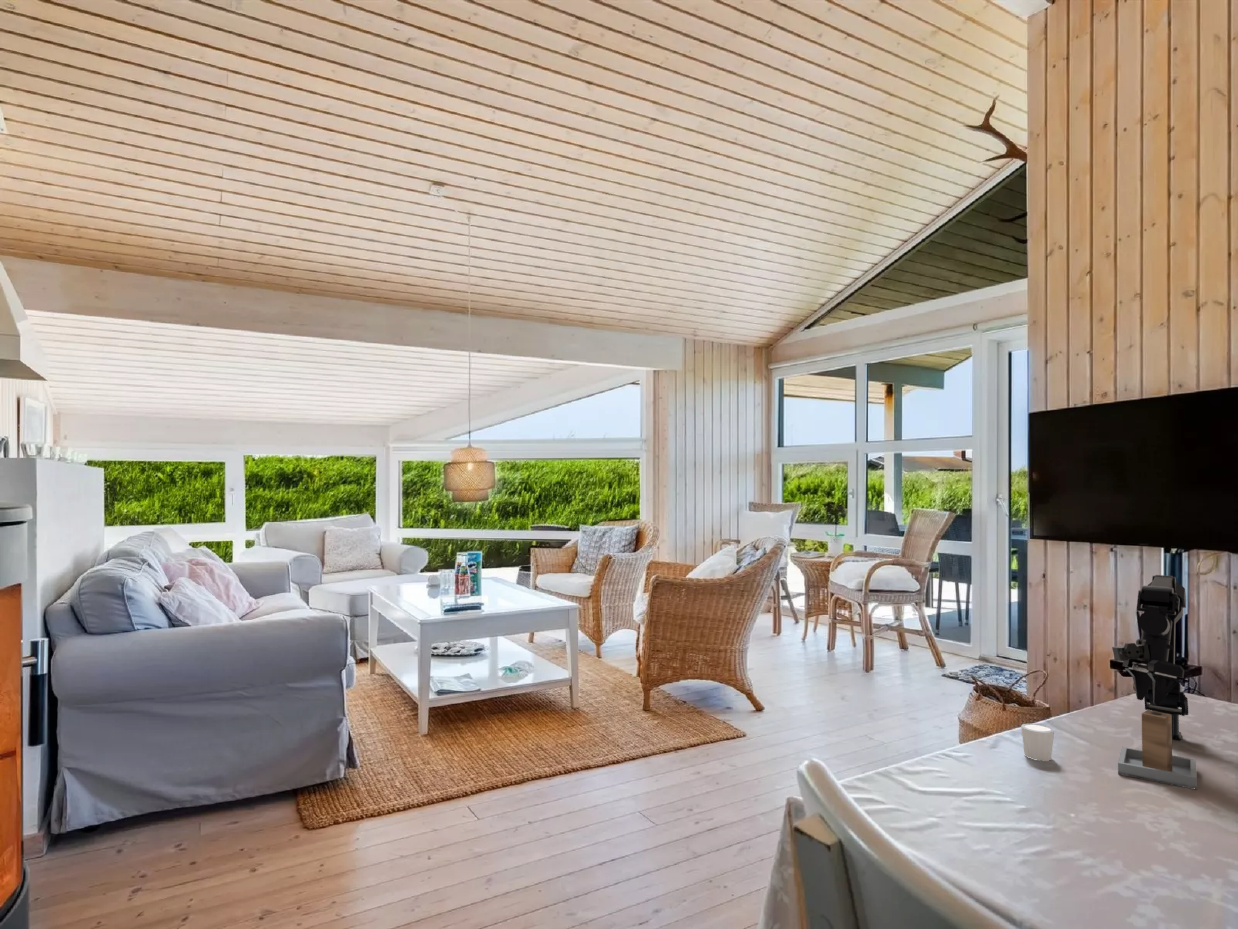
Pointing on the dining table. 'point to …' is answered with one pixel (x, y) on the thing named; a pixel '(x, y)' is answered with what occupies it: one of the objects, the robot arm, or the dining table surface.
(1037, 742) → the white cup
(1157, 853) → the dining table surface
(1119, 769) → the grey tray
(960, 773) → the dining table surface
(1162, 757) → the walnut block
